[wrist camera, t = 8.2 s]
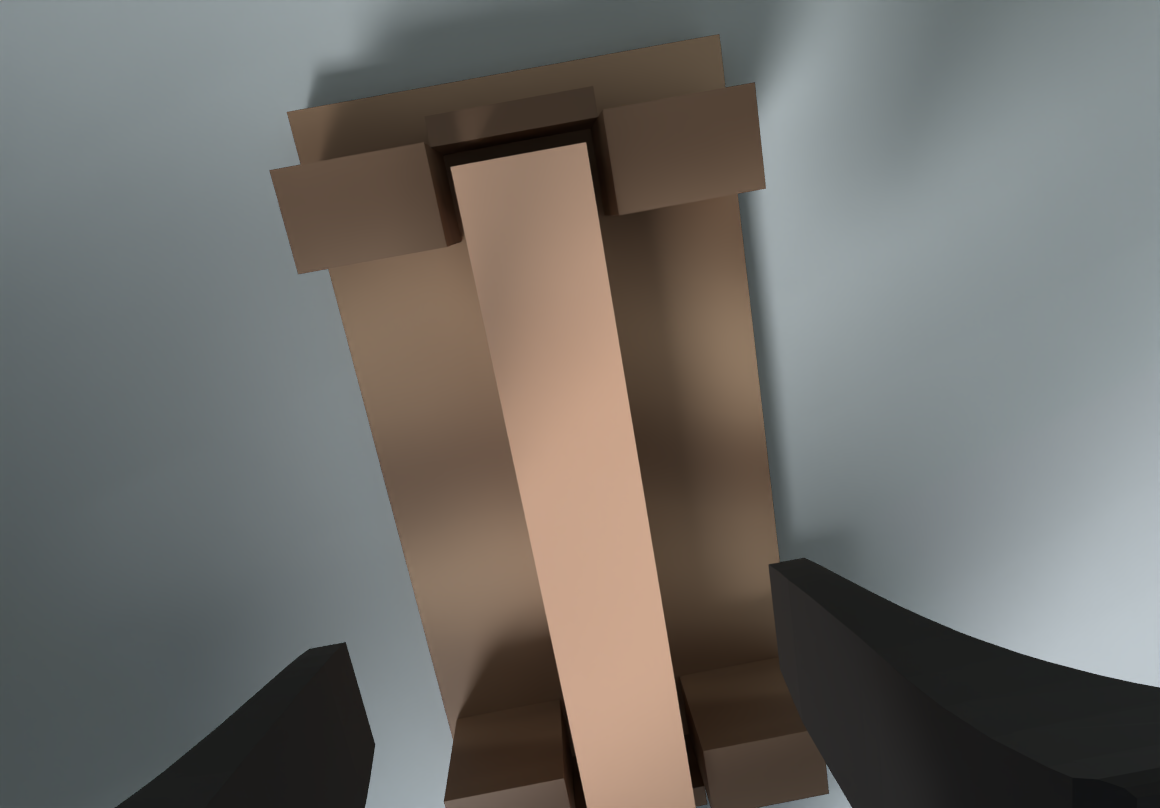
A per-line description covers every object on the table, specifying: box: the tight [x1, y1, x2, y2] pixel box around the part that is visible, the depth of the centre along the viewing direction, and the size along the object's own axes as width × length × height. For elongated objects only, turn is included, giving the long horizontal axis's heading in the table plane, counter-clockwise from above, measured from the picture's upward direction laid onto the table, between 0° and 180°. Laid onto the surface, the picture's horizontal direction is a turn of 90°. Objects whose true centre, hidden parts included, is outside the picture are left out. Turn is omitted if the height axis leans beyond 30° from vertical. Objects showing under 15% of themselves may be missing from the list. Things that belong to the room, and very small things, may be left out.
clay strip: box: [451, 142, 696, 808], centre depth 17 cm, size 16×2×4 cm, turn 10°
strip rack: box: [270, 34, 829, 808], centre depth 18 cm, size 20×10×4 cm, turn 10°
